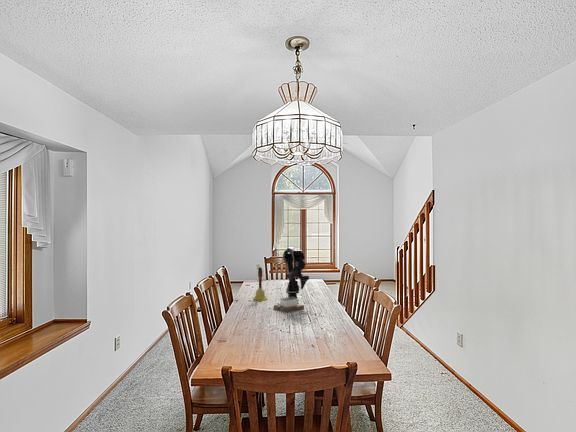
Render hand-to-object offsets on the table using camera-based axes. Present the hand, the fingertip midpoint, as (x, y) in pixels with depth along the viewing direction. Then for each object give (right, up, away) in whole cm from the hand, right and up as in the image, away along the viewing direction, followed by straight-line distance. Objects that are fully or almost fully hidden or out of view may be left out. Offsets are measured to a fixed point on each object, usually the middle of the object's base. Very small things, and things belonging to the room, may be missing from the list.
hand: (297, 288), depth 287 cm
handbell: (-29, -12, +20) cm, 37 cm away
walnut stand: (-6, -12, -12) cm, 18 cm away
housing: (-6, -9, -12) cm, 17 cm away
